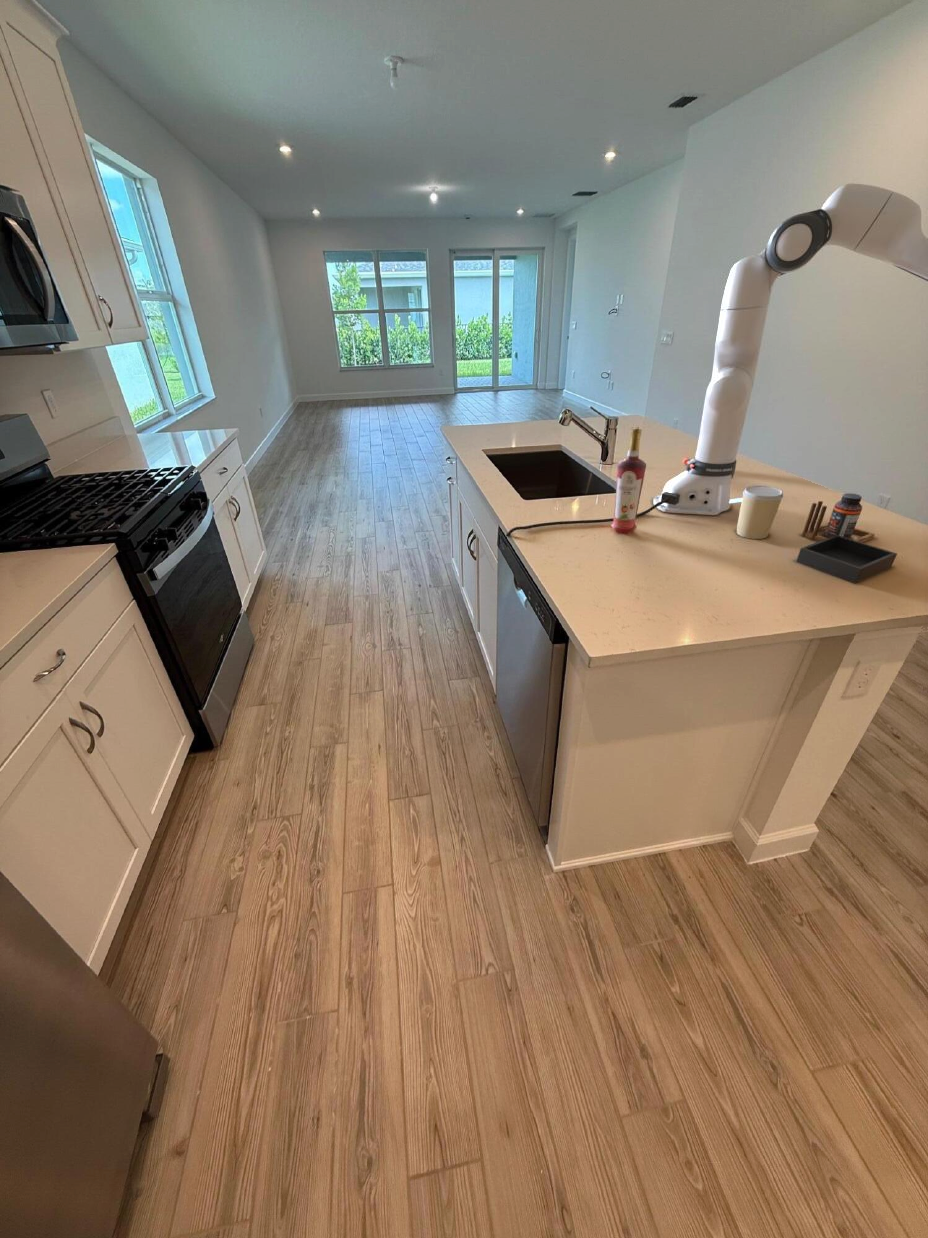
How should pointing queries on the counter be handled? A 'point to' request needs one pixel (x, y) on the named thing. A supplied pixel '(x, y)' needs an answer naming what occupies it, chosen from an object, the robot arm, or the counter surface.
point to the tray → (846, 558)
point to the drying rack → (814, 531)
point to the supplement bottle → (844, 516)
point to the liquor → (629, 486)
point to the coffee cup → (758, 511)
